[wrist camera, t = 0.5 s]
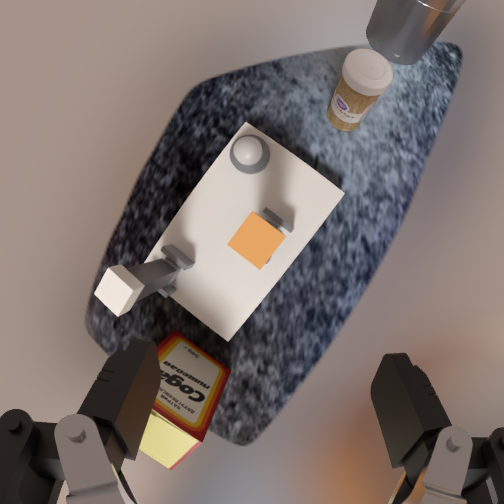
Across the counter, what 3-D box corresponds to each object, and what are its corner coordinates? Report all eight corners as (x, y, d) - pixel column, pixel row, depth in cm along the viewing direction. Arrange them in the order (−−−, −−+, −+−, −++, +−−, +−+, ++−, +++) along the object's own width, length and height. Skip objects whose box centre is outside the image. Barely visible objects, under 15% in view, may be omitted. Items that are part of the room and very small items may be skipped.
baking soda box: (231, 370, 38) (201, 445, 22) (206, 398, 39) (170, 472, 23) (175, 329, 39) (116, 383, 23) (153, 360, 40) (95, 418, 24)
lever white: (169, 252, 34) (108, 267, 21) (187, 267, 34) (133, 290, 21) (157, 271, 35) (94, 293, 22) (174, 285, 34) (117, 316, 22)
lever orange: (265, 217, 33) (252, 210, 20) (285, 232, 33) (285, 236, 20) (249, 237, 33) (226, 244, 20) (270, 252, 33) (260, 270, 20)
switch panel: (248, 129, 35) (242, 113, 30) (340, 195, 35) (350, 190, 29) (149, 266, 38) (128, 273, 32) (232, 333, 38) (223, 350, 32)
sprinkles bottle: (319, 117, 34) (335, 65, 21) (339, 94, 34) (361, 38, 20) (348, 139, 34) (378, 97, 21) (367, 116, 33) (402, 68, 20)
